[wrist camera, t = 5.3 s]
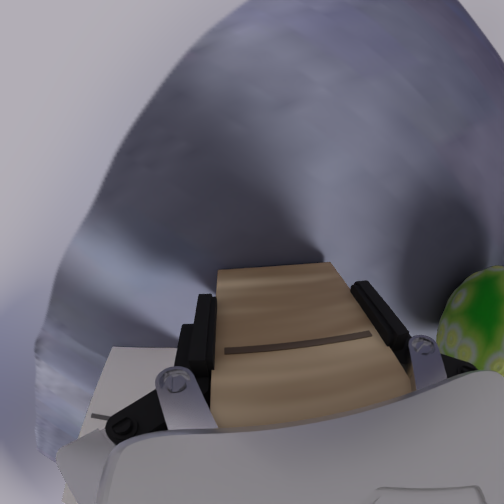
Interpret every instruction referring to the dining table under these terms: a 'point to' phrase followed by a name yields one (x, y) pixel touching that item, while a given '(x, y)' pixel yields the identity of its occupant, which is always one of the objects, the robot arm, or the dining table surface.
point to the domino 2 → (295, 348)
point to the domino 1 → (122, 386)
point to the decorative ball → (475, 321)
